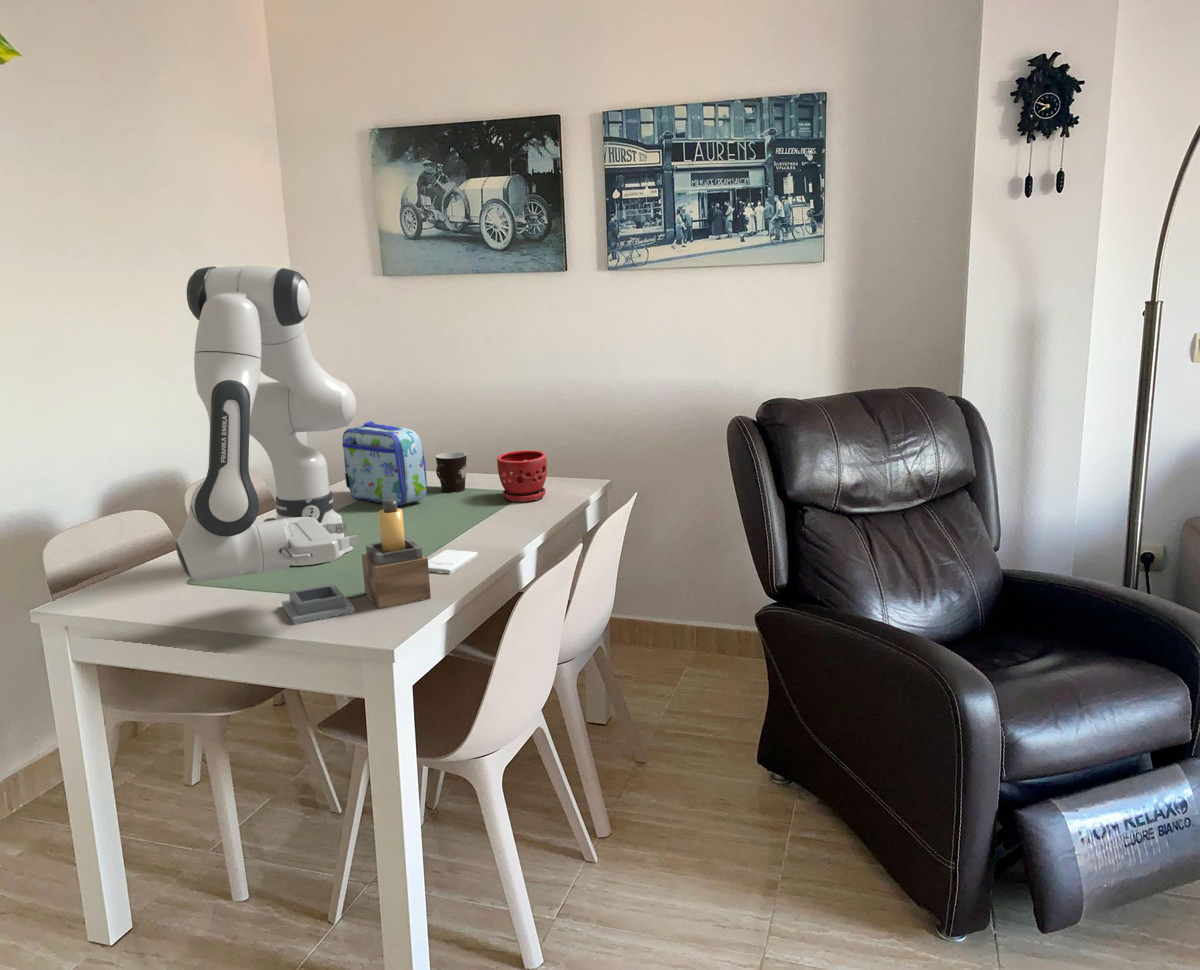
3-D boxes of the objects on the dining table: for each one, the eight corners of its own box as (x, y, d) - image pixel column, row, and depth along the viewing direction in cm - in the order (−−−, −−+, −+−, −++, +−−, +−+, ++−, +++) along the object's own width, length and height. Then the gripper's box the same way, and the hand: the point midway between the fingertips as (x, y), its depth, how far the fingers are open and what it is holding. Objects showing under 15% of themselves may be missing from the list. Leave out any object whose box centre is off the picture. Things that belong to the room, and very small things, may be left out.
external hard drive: (478, 559, 211) (450, 576, 199) (445, 556, 213) (416, 573, 202) (477, 552, 210) (450, 569, 199) (444, 549, 213) (415, 566, 202)
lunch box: (341, 497, 267) (334, 423, 262) (373, 490, 275) (367, 417, 270) (399, 511, 250) (392, 432, 245) (432, 503, 258) (426, 425, 253)
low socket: (282, 606, 183) (280, 591, 183) (340, 595, 188) (338, 580, 188) (294, 624, 174) (292, 608, 173) (354, 612, 179) (353, 597, 178)
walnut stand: (365, 593, 189) (360, 544, 187) (414, 583, 194) (410, 536, 191) (379, 608, 181) (374, 557, 178) (430, 598, 185) (426, 548, 183)
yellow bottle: (379, 555, 186) (375, 500, 184) (402, 551, 188) (397, 496, 186) (386, 561, 182) (381, 505, 180) (408, 557, 184) (404, 501, 182)
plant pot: (502, 493, 267) (500, 450, 264) (550, 492, 266) (548, 449, 263) (496, 505, 254) (493, 460, 251) (545, 504, 253) (543, 459, 250)
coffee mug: (457, 485, 278) (455, 450, 275) (474, 489, 271) (472, 454, 269) (422, 492, 270) (420, 457, 268) (440, 497, 264) (437, 461, 262)
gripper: (284, 542, 165) (364, 529, 171) (263, 516, 182) (337, 505, 189) (288, 577, 166) (368, 563, 172) (267, 548, 184) (340, 536, 190)
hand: (351, 533), depth 181 cm, fingers open, 8 cm apart
